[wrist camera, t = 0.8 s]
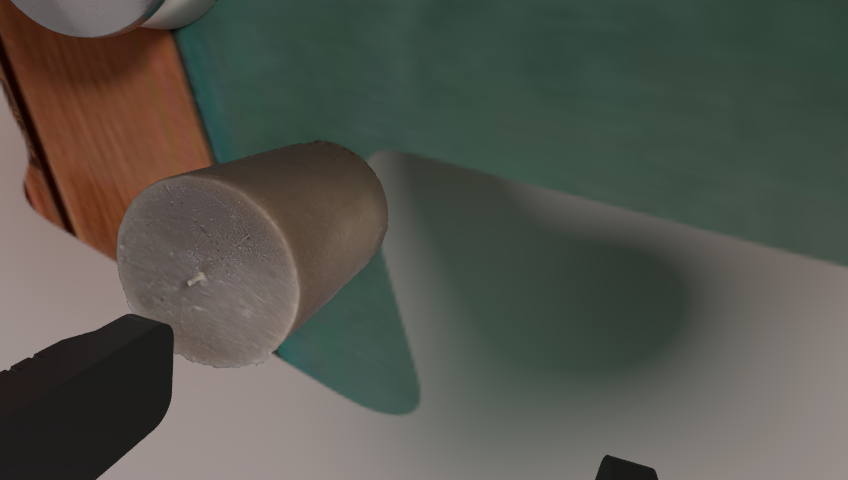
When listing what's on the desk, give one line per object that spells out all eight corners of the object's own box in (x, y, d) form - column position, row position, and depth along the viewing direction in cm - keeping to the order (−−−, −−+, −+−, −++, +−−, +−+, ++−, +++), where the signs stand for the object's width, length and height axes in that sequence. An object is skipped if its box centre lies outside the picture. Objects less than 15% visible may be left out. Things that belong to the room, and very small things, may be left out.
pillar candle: (325, 110, 36) (175, 128, 22) (419, 225, 37) (330, 312, 23) (233, 199, 40) (54, 263, 26) (321, 303, 40) (191, 420, 26)
